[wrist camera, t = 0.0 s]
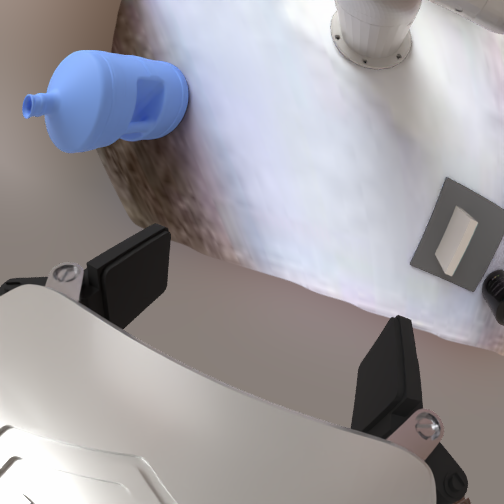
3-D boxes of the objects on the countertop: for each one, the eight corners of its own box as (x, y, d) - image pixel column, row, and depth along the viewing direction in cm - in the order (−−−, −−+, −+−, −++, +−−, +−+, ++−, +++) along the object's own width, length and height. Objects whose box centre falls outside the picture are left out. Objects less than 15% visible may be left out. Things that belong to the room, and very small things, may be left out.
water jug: (117, 99, 49) (0, 110, 25) (165, 47, 42) (40, 25, 18) (150, 154, 52) (27, 189, 28) (206, 103, 45) (72, 102, 21)
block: (456, 205, 37) (470, 218, 31) (463, 209, 36) (479, 223, 30) (434, 253, 41) (444, 273, 35) (442, 257, 41) (452, 276, 35)
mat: (446, 176, 36) (447, 177, 36) (510, 213, 33) (511, 214, 33) (409, 263, 44) (410, 264, 43) (472, 290, 41) (473, 292, 40)
